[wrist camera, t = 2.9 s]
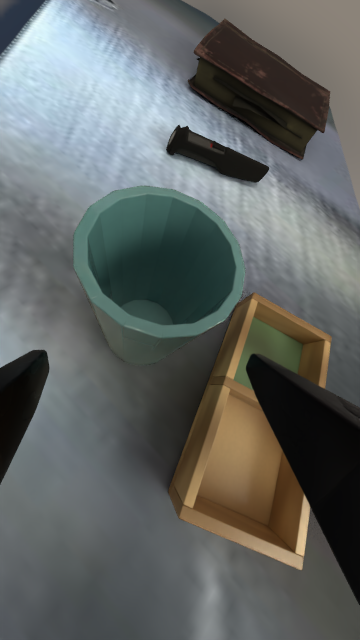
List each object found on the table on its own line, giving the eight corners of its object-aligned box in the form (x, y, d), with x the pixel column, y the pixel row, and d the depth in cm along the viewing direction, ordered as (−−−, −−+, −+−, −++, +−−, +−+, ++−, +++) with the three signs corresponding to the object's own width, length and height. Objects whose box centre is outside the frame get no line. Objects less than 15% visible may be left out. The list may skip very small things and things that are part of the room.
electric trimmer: (256, 194, 32) (270, 175, 29) (164, 154, 29) (169, 128, 26) (257, 178, 33) (270, 159, 30) (169, 139, 30) (174, 113, 27)
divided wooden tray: (269, 535, 18) (302, 571, 14) (167, 491, 17) (178, 518, 13) (304, 342, 25) (331, 336, 22) (236, 304, 24) (253, 291, 21)
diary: (215, 54, 42) (226, 14, 37) (311, 118, 45) (332, 88, 40) (184, 90, 35) (193, 46, 30) (300, 163, 38) (324, 133, 33)
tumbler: (147, 381, 19) (186, 378, 7) (88, 333, 19) (24, 247, 7) (189, 326, 22) (268, 256, 10) (138, 285, 22) (155, 163, 10)
